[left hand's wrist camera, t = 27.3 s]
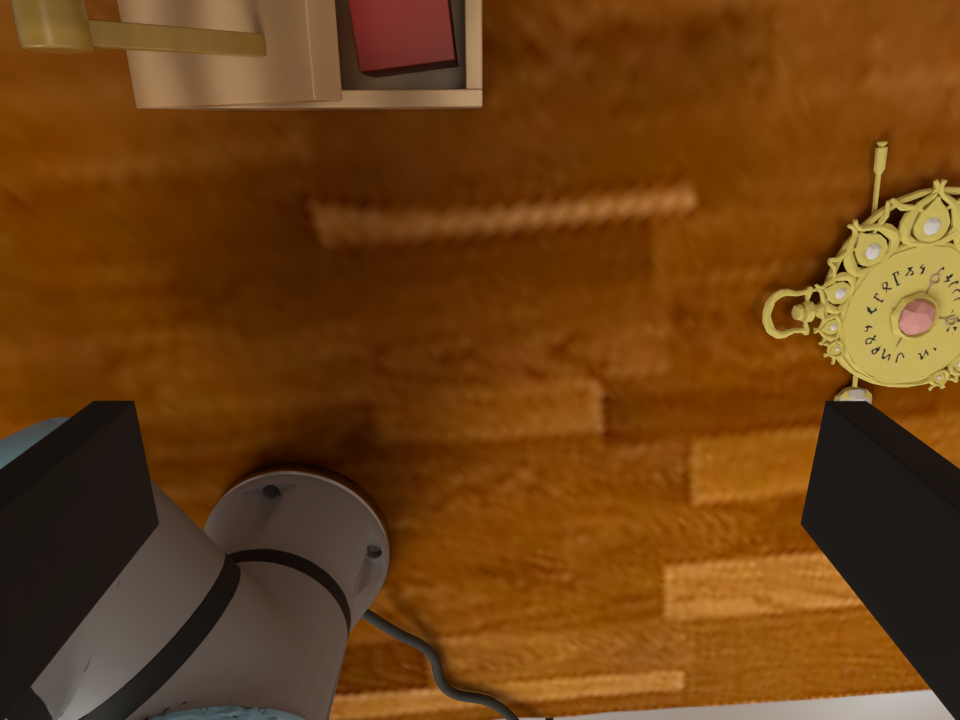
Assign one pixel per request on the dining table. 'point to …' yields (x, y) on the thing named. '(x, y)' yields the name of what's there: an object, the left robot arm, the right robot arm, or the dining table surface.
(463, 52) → the chest
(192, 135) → the dining table surface
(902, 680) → the dining table surface
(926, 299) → the decorative object
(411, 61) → the block
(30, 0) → the lid
